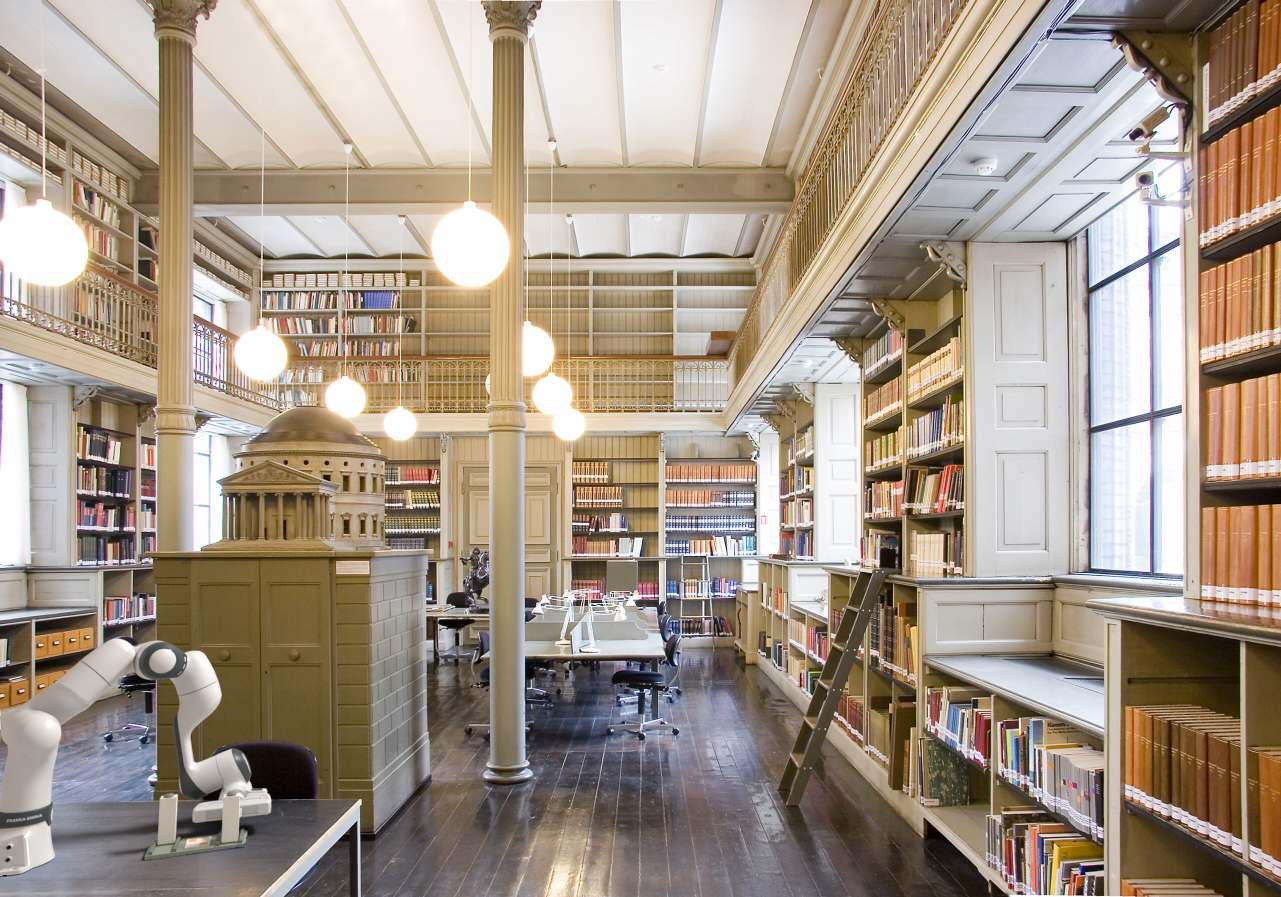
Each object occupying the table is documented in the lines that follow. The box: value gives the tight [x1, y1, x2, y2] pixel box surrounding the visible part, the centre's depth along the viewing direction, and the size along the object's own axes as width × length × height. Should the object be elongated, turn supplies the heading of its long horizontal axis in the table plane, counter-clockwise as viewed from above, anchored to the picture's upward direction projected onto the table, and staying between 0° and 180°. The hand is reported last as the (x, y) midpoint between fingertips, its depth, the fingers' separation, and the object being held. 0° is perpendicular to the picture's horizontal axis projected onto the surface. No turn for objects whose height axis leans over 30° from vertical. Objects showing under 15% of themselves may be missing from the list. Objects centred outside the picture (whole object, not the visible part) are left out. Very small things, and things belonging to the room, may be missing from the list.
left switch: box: [157, 792, 179, 845], centre depth 230 cm, size 3×4×13 cm
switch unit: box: [144, 827, 249, 861], centre depth 229 cm, size 11×24×2 cm, turn 112°
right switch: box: [221, 792, 240, 843], centre depth 231 cm, size 3×4×13 cm
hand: (231, 817), depth 232 cm, fingers closed, pressing on right switch
